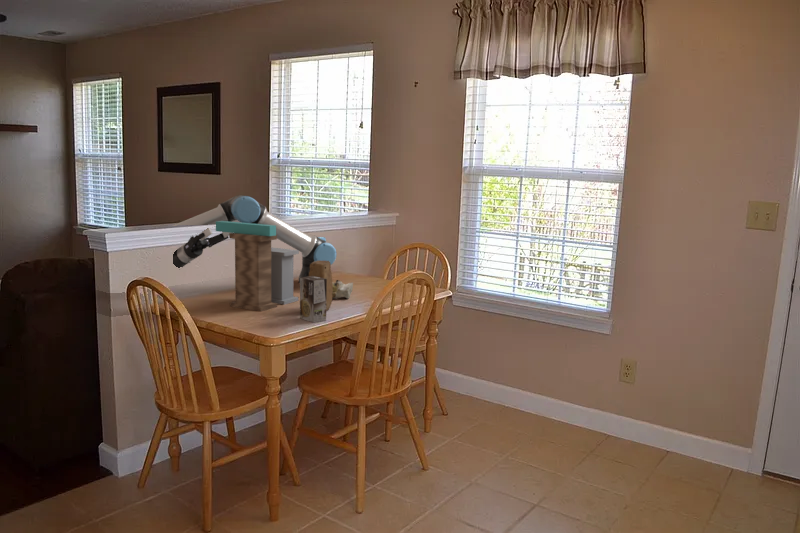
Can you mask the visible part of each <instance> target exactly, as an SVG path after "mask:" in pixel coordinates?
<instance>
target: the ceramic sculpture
mask: <svg viewBox="0 0 800 533" xmlns="http://www.w3.org/2000/svg"><path fill="white" fill-rule="evenodd" d="M332 283H333V289H332V300H337V299H340V298H345V299H349V298H350V297H351V295H352V293H353V288H354V286H353V285H354V282H352V281H351V282H348V283H346V284H345V283H343V282H342V280H339V279H336V280H335V282H332Z"/></svg>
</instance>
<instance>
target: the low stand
mask: <svg viewBox="0 0 800 533" xmlns="http://www.w3.org/2000/svg"><path fill="white" fill-rule="evenodd" d="M299 253H300V251H299V250H296V249H290V248H289V249H288V248H281V247H280V248H279V247H271V302H272V303H277V305H288V304H291V303H294V302H298V301H299V297H298V296H294V255H299Z"/></svg>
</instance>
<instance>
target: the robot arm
mask: <svg viewBox="0 0 800 533" xmlns="http://www.w3.org/2000/svg"><path fill="white" fill-rule="evenodd" d="M216 221H229V222H241V223H252V224H264V225H276V234H277V239H276V240H279V241H280V242H283V243H284V244H286V245H287V246H289V247H292V248H293V249H294V250H299V253H300V254H301V257H302V258H301V260H302V261H301V264H302V265H301V266H302V267H301V269H300V273H299V276H298V284H300V278H301V277H307V276H309V272H310V264H311V263H312V262H314V261H318V260H320V261H329V262H330V264H331V266H332V265H333V264H334V263H335V262H336V259H337V249H336V247H334V245H333V244H332V243H330V242H327V240H326V239H327V238H326V237H323V236H316V235H312V236H310V235H308V234H307V233H305V232H303V231H301V230H300V229H298V228H297V227H294V226H293V225H291V224H289V223H288V222H286V221H284V220H282V219H281V218H279V217H277V216H276V215H274V214H272V213H270V212H269V211H268V209H267V206H265V205H264V204H262V203H260V202H258V201H257V200H256V199H255V198H253V197H251V196H248V195H244V194H243V195H242V194H238V195H235V196H233V197H231V198H229V199H227V200H225V201H224V202H221V203H219V204H218V205H217V207H215V208H212V209H210V210H207V211H204V212H202V213H200V214H198V215H195V216H192V217H191V218H188V219H186V220H183V221H180V222H178V223H176V224H173V225H172V226H177V225H208V224H216ZM229 233H230V232H221V233H219V234H217V235H214V236H212V235H213V231H212V228H207V229H206V230H204V231H202V232H200V233H198V235H197V234H195V236H194V235H192V236H190V237H189V239H188V241H187V242H186V243H184V244H183V245H181V246H180V247H179V248H177V250H176V251H175V252H174V254H173V264H174V265H175V266H176V267H178V268H180V267H182V268H183V267H185V266H186V265H188V264H192V261H194V260H195V259H197V258H198V257H200V256H202V254H203V251H204V249H207V247H208V248H212V247H213V246H215V245H217V244H220V243H221V242H224V241H225V240H228V239H230V238H229ZM210 236H212V237H210Z"/></svg>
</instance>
